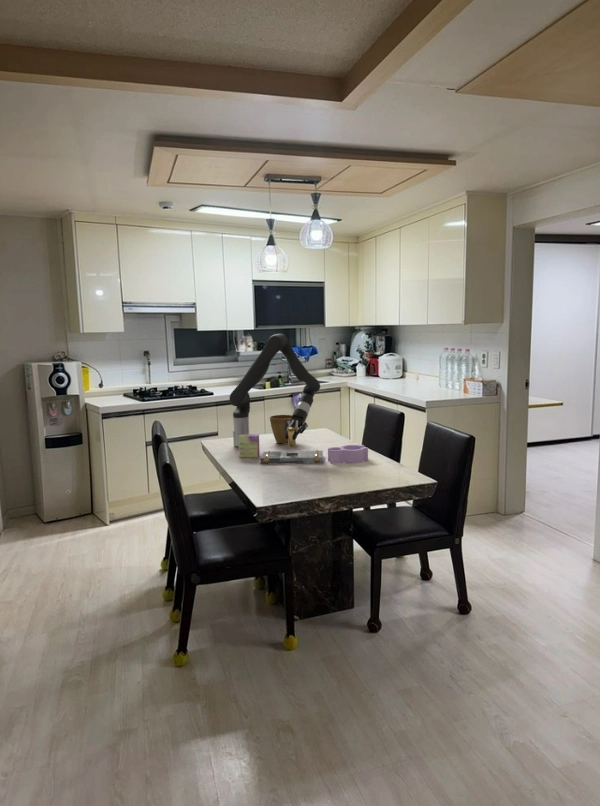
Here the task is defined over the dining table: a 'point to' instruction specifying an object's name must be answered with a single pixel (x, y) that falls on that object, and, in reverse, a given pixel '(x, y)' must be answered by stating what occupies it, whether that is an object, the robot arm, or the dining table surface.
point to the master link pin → (290, 434)
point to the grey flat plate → (292, 457)
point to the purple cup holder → (348, 454)
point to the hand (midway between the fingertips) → (289, 438)
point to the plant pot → (279, 427)
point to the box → (248, 445)
